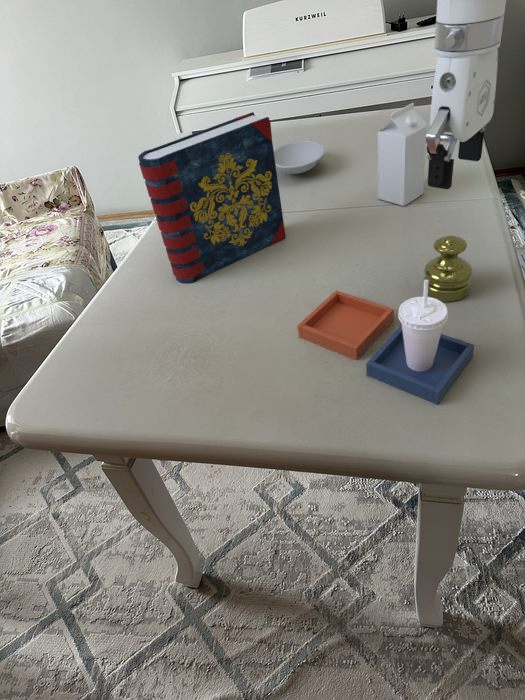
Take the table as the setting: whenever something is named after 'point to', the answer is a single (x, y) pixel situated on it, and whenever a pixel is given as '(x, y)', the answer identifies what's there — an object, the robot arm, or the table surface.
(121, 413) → the table surface
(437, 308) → the smoothie
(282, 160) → the dish
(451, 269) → the brass weight
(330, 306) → the terracotta tray
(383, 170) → the milk carton
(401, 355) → the blue tray
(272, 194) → the book
